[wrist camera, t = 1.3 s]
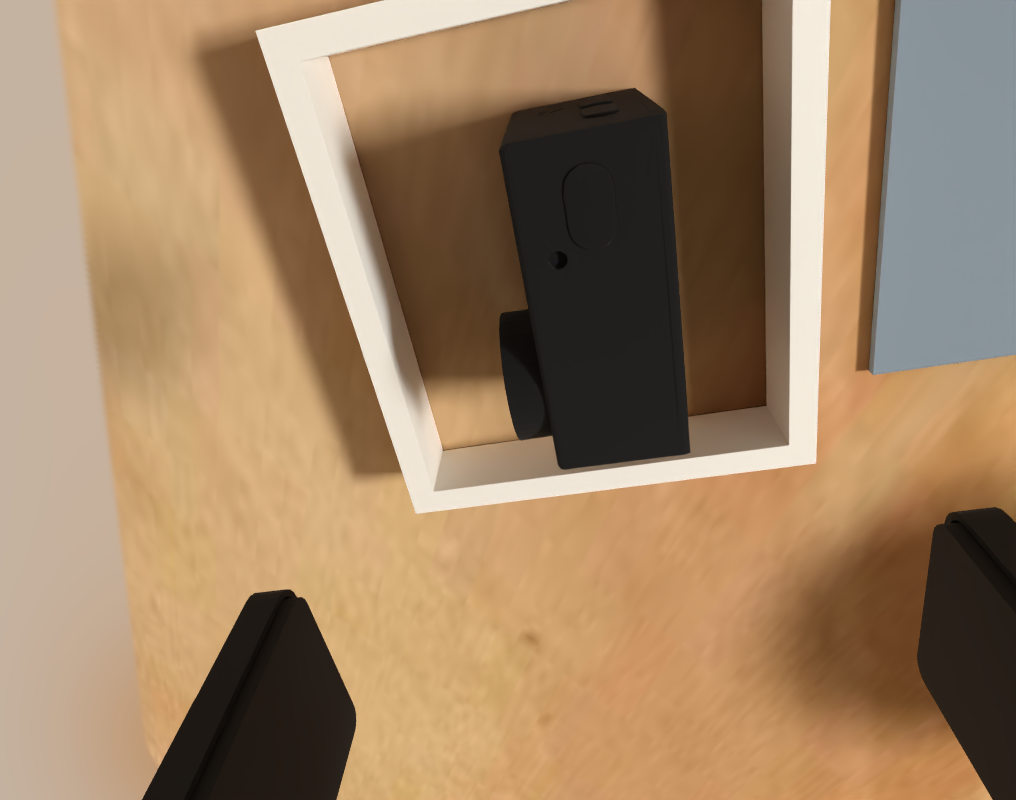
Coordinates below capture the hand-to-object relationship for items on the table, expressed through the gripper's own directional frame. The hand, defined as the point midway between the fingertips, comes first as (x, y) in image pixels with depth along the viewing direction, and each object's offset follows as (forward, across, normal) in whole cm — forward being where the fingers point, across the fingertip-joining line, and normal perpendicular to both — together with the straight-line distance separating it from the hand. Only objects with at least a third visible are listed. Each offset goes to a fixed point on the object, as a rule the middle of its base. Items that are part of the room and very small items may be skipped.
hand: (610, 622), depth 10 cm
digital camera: (+18, 0, -1) cm, 18 cm away
